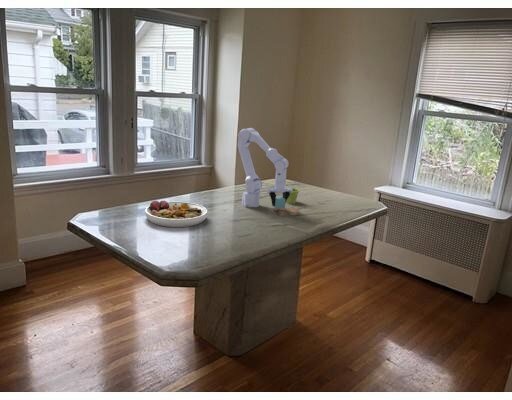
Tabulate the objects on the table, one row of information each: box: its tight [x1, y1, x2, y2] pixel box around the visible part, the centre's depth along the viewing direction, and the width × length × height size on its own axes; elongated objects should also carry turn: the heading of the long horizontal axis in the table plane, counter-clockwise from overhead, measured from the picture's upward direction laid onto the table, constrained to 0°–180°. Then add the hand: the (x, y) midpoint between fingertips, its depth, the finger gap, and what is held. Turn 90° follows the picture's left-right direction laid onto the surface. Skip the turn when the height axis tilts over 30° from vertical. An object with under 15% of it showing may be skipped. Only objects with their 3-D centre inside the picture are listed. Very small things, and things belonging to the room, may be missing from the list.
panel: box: [268, 206, 303, 216], centre depth 231 cm, size 15×13×1 cm
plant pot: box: [285, 187, 300, 205], centre depth 250 cm, size 9×9×9 cm
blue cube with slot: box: [271, 196, 286, 208], centre depth 231 cm, size 5×5×5 cm
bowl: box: [144, 200, 208, 228], centre depth 209 cm, size 30×30×8 cm
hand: (278, 205), depth 231 cm, fingers closed on blue cube with slot, 5 cm apart
